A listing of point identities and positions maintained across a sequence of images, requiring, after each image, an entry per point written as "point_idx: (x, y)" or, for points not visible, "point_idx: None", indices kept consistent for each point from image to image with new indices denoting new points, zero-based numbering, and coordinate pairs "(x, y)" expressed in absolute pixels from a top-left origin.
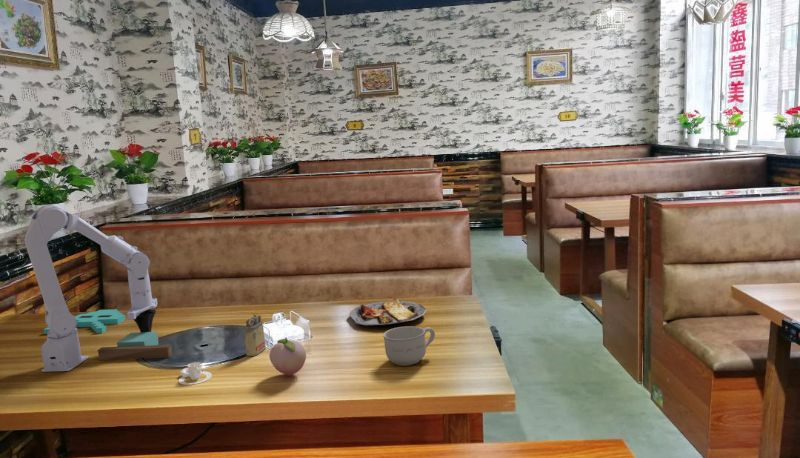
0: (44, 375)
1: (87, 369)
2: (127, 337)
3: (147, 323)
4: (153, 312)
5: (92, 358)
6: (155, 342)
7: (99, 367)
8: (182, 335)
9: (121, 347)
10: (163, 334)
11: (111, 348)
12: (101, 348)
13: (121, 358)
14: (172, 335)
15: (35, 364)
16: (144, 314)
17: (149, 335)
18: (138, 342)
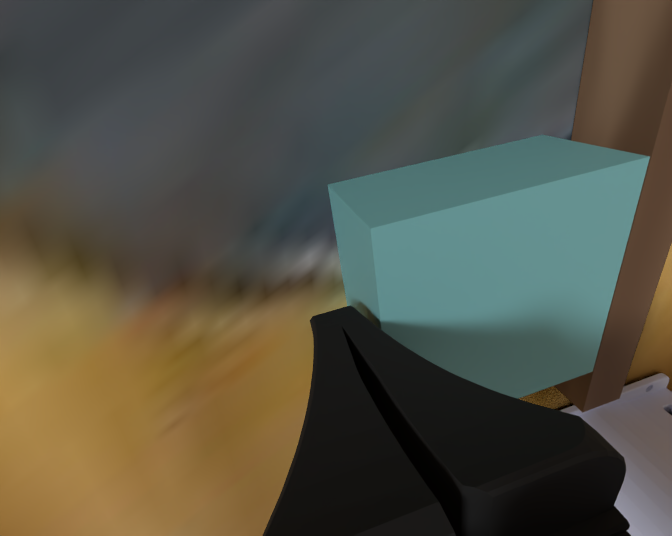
0: None
1: (666, 316)
2: (503, 382)
3: (454, 375)
4: (418, 513)
5: (534, 402)
6: (392, 182)
7: (664, 280)
8: (13, 74)
9: (627, 296)
10: (79, 321)
11: (624, 344)
12: (602, 398)
13: None
14: (67, 210)
15: None
16: (553, 534)
17: (487, 226)
18: (627, 211)
